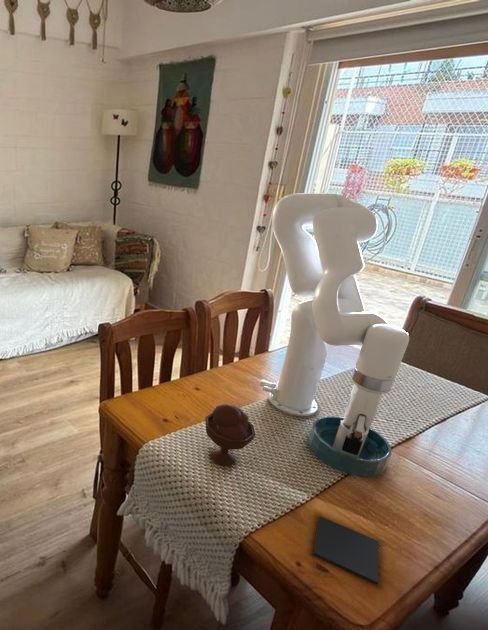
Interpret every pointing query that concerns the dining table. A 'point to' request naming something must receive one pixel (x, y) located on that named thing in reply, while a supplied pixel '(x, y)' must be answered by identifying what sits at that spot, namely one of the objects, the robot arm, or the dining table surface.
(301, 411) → the robot arm
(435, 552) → the dining table surface
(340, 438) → the cream cup
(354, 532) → the slate coaster
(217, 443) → the ice cream bowl
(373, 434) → the teal bowl
